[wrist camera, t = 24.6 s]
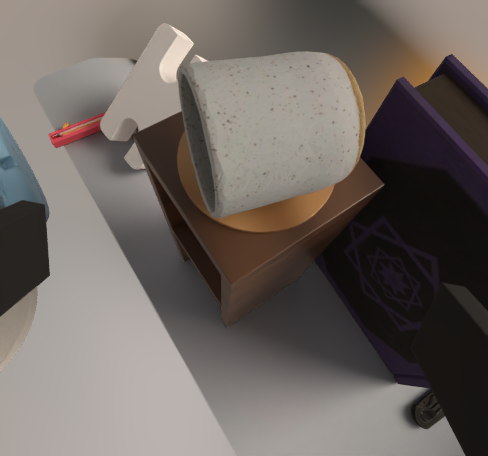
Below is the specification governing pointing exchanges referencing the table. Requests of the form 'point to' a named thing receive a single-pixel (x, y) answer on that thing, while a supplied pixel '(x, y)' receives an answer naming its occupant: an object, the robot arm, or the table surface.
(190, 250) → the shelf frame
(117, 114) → the white slotted bracket
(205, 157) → the ceramic mug
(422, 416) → the folding knife
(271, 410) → the table surface
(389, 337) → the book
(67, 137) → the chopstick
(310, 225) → the brown square coaster
